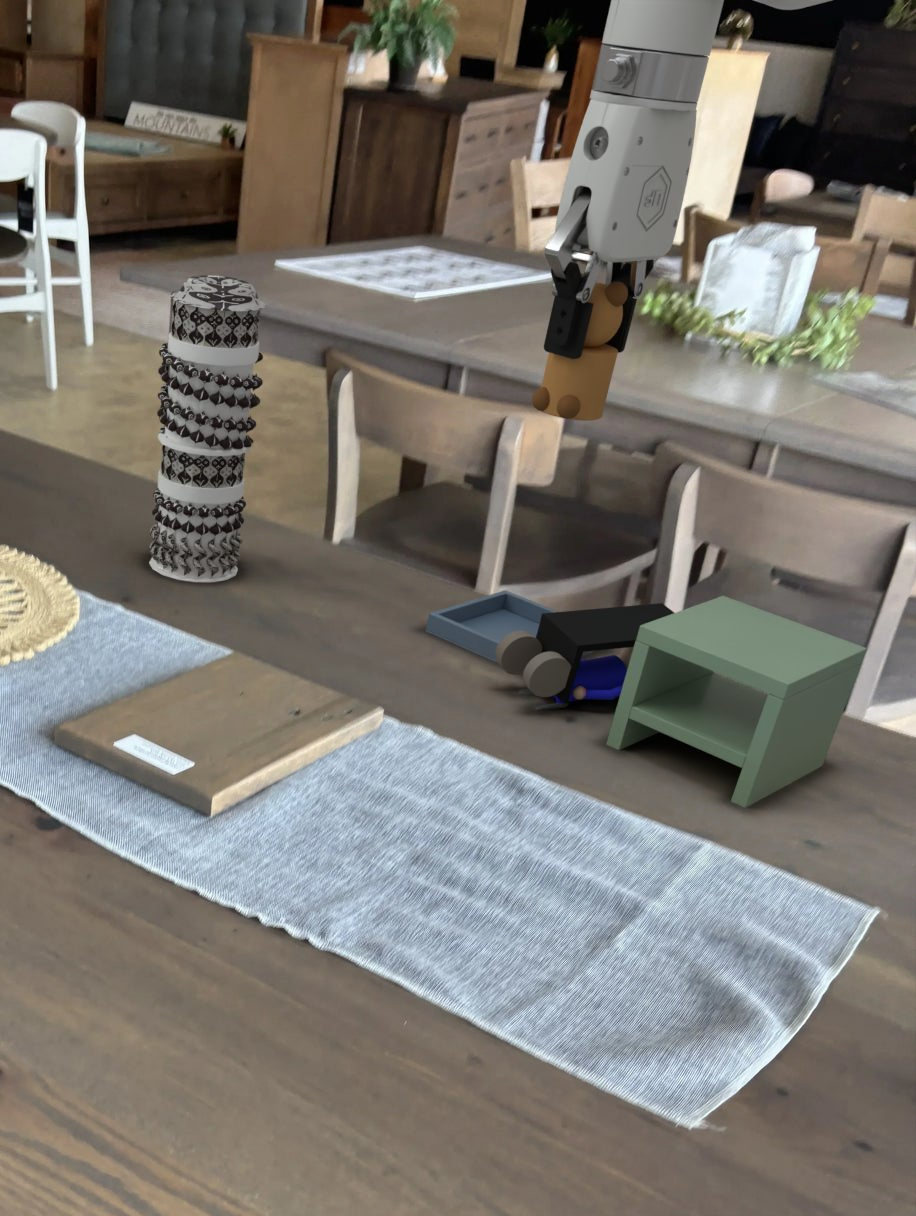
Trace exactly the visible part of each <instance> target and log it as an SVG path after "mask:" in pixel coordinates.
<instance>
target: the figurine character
mask: <svg viewBox="0 0 916 1216" xmlns="http://www.w3.org/2000/svg"><path fill="white" fill-rule="evenodd" d="M674 613H675V612H674V611H673V610H672V609H670V608H669V607H668V606H667V605H665V604H664V603H662V602H659V603H648V604H647V603H646V604H636V605H635V604H634V605H624V606H611V607H602V608H601V607H600V608H599V607H598V608H589V609H578V610H566V611H558V612H553V613H542V615H541V621H540V624H539V628H538V632H537V635H536V637H534V636H533V635H532V634H531V633H530V632H528V631H525V630H517V631H514V632H511V633H509V634H507V635H506V636H505V637H504V638H502V640H501V641H500V642H499V643H498V645H497V647H496V650H495V659H496V661H497V664H498V665H499V666H500V667H501V668H502V669H503V670H504V672H506V673H508V674H510V675H515V676H517V675H522V681H523V683H524V685H525V687H527V688H523V689H520V690H519V691H518V692H517V694H518V695H521V696H537V697H540V698H550V697H553V698H555V699H556V700H555V702H554V703H548V704H542V705H538V706H536V707H535V710H537V711H551V710H558V709H564V708H567V707H568V706H570V702H571V703H572V702H576V701H581V700H606V701H607V700H608V701H612V700H614V699H616V698H617V697H620V694H621V691H622V687H623V684H624V680H625V676H626V673H627V669H628V666H629V662H630V659H631V655H632V652H633V648H634V645H635V641H636V639H637V635H638V632H639V628H640V626H641V625H643V624H646V623H649V622H651V621H654V620H657V619H660V618H662V617H665V616H668V615H671V614H674ZM616 649H623V650H622V651H621V652H620V653H619V655H615V654H613V655H612V654H611V655H606V656H601V657H595V658H589V659H588V658H587V659H585V658H583V656H582V654H583V652H586V651H595V652H598V651H606V650H616ZM597 650H598V651H597Z"/></svg>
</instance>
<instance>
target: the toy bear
mask: <svg viewBox="0 0 916 1216" xmlns="http://www.w3.org/2000/svg"><path fill="white" fill-rule="evenodd" d="M583 275H584V272H581V276H582V277H583ZM627 296H628V290H627V287H626V286H625V285H624V284H623V283H622V282H612V283H610V284H609V285H606V283H603V282H596V283H595V286H594V288H593V291H592V293H591V296H590V298H589V300H588V301H587V302H590V303H594V305H593V309H592V313H591V317H590V322H589V326H588V330H587V334H586V338H585V343H584V347H583V351H582V355H581V357H580V358H578V359H571V358H567V357H564V356H560V355H556V354H553V353H549V352H548V355H547V360H546V364H545V370H544V373H543V377H542V382H541V386H540V387H539V388H537V389H536V390H535V391H534V392H533V394H532V398H531V403H532V406H533V407H534V409H536V410H537V411H540V412H542V413H545V414H547V415H550V416H553V417H555V418H556V417H557V418H561V419H565V420H572V421H584V422H585V421H597V420H600V419H602V417H603V415H604V414H603V413H604V409H605V405H606V401H607V397H608V394H609V390H610V385H611V381H612V378H613V373H614V370H615V365H616V361H617V357H618V354H619V353H618V350H617V349H616V348H614V347H612V346H610V345H607V344H604V343H606V342H607V341H609V340H610V339H611V338H612V337H613V336H614V335H615V333H616V332H617V330H618V329H619V327H620V325H621V321H622V317H623V306H622V304H623V303H624V302H625V301H626V299H627Z"/></svg>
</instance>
